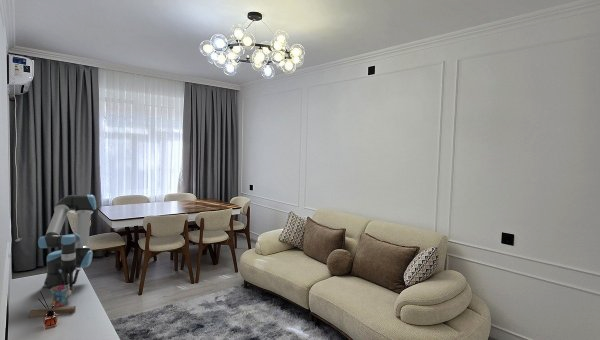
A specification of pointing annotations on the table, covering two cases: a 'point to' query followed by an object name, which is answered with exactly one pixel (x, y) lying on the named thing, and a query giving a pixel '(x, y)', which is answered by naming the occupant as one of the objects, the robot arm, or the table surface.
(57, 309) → the board
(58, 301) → the mug
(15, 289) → the table surface
